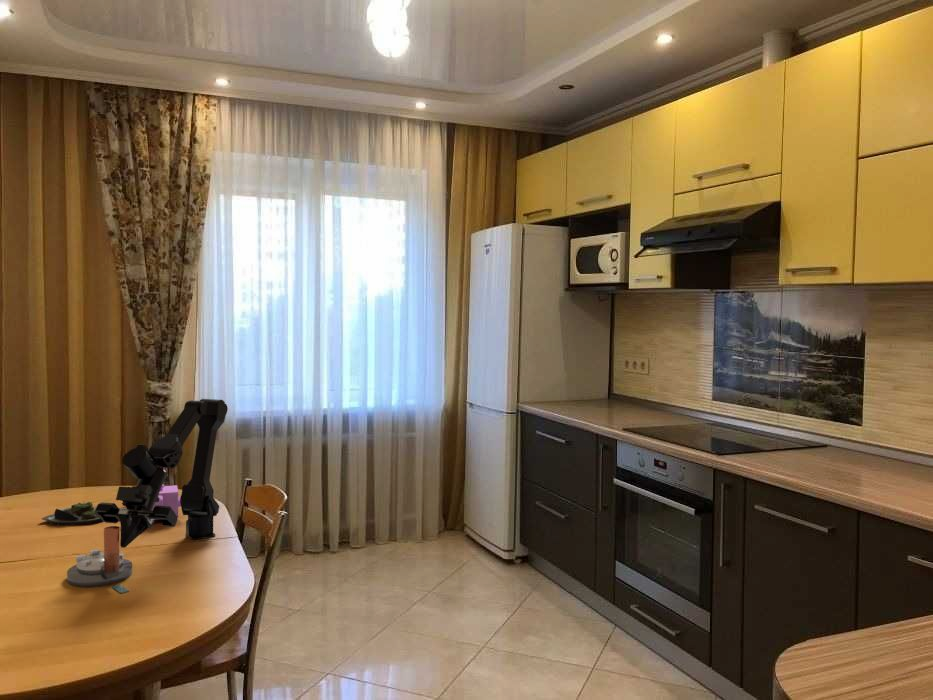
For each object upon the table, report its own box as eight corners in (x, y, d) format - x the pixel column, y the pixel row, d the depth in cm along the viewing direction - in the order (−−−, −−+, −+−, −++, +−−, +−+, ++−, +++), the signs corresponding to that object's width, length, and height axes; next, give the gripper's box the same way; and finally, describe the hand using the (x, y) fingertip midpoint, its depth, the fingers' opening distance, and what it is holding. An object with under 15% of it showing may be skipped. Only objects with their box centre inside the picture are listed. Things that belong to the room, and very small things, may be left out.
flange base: (124, 561, 181) (124, 554, 181) (147, 587, 165) (147, 579, 165) (61, 573, 172) (61, 565, 172) (80, 602, 156) (79, 593, 156)
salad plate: (59, 509, 226) (59, 495, 226) (120, 507, 230) (120, 493, 230) (37, 528, 207) (36, 512, 207) (103, 525, 211) (103, 510, 211)
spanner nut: (71, 565, 172) (71, 517, 171) (115, 556, 178) (115, 510, 178) (90, 584, 160) (90, 534, 159) (136, 574, 167) (136, 525, 166)
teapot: (155, 529, 207) (155, 493, 207) (122, 523, 213) (122, 487, 212) (194, 516, 221) (195, 482, 221) (163, 510, 227) (163, 477, 226)
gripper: (98, 469, 173) (69, 528, 162) (171, 473, 171) (146, 533, 161) (117, 493, 181) (91, 550, 171) (187, 497, 179) (164, 555, 169)
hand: (122, 546), depth 167 cm, fingers closed
